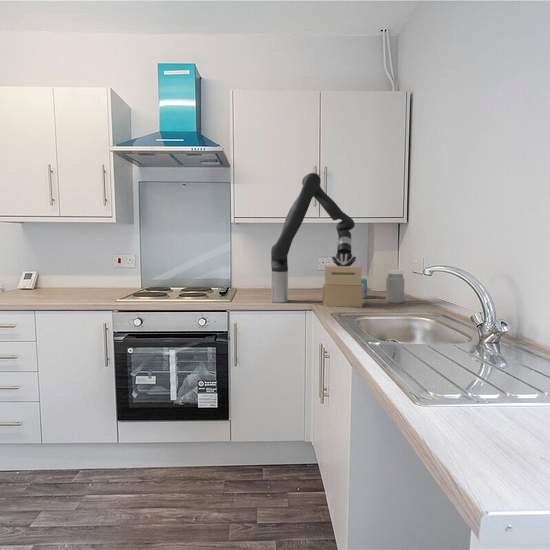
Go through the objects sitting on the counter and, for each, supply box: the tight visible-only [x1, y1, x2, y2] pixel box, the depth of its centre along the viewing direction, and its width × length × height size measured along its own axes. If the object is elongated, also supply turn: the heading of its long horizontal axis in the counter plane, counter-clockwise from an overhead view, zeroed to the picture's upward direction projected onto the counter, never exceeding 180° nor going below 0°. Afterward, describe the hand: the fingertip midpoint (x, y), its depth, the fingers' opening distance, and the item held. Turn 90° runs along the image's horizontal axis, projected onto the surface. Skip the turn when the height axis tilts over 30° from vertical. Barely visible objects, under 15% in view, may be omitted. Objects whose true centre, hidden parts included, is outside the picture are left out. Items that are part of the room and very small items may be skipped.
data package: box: [361, 277, 368, 299], centre depth 238 cm, size 12×4×12 cm, turn 22°
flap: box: [324, 265, 362, 285], centre depth 205 cm, size 19×1×10 cm, turn 77°
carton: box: [322, 282, 365, 308], centre depth 214 cm, size 21×15×11 cm
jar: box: [385, 269, 406, 304], centre depth 220 cm, size 10×10×18 cm
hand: (343, 271), depth 204 cm, fingers closed
